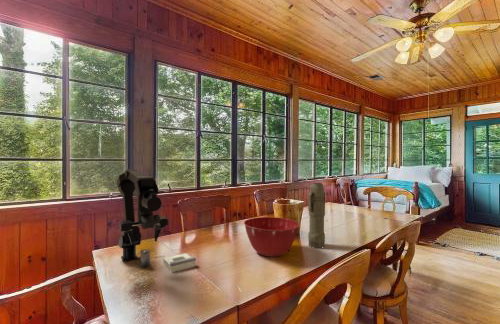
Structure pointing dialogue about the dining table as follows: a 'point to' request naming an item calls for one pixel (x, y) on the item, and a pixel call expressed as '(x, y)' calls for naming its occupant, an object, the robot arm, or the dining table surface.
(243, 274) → the dining table surface
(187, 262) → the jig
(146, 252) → the metal cylinder rod
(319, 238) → the thermos
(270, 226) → the mixing bowl
